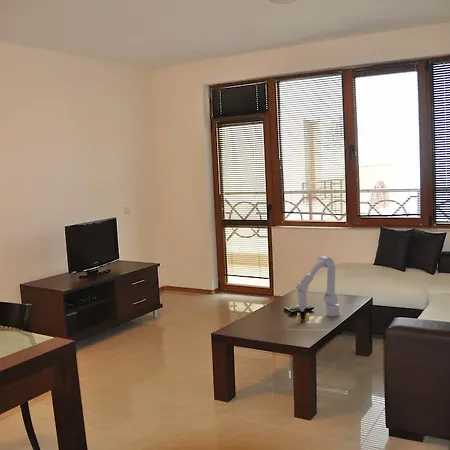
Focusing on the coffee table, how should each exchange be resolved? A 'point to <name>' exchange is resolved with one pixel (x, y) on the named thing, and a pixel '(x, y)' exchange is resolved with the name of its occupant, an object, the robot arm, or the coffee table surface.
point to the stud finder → (305, 316)
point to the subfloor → (311, 320)
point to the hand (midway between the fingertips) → (303, 318)
